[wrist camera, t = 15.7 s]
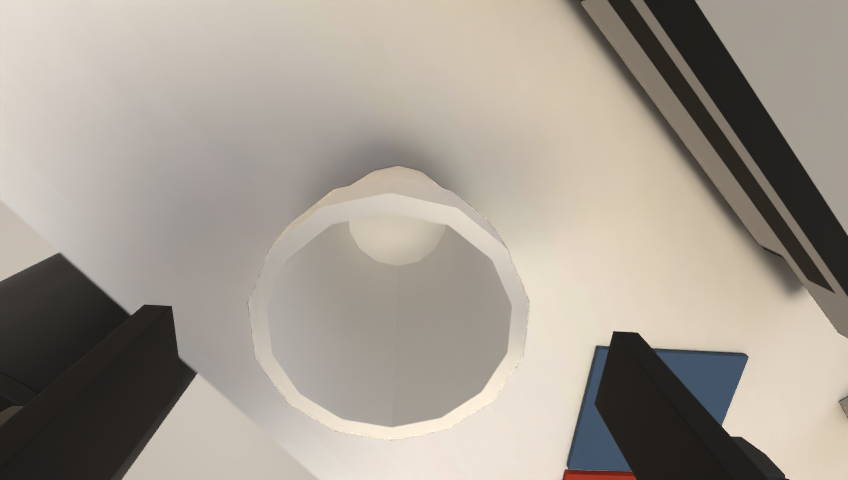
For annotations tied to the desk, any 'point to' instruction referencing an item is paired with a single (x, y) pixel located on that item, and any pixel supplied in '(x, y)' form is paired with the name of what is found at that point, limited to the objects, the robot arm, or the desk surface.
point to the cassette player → (844, 405)
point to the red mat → (597, 475)
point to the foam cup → (389, 309)
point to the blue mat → (698, 371)
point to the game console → (756, 115)
